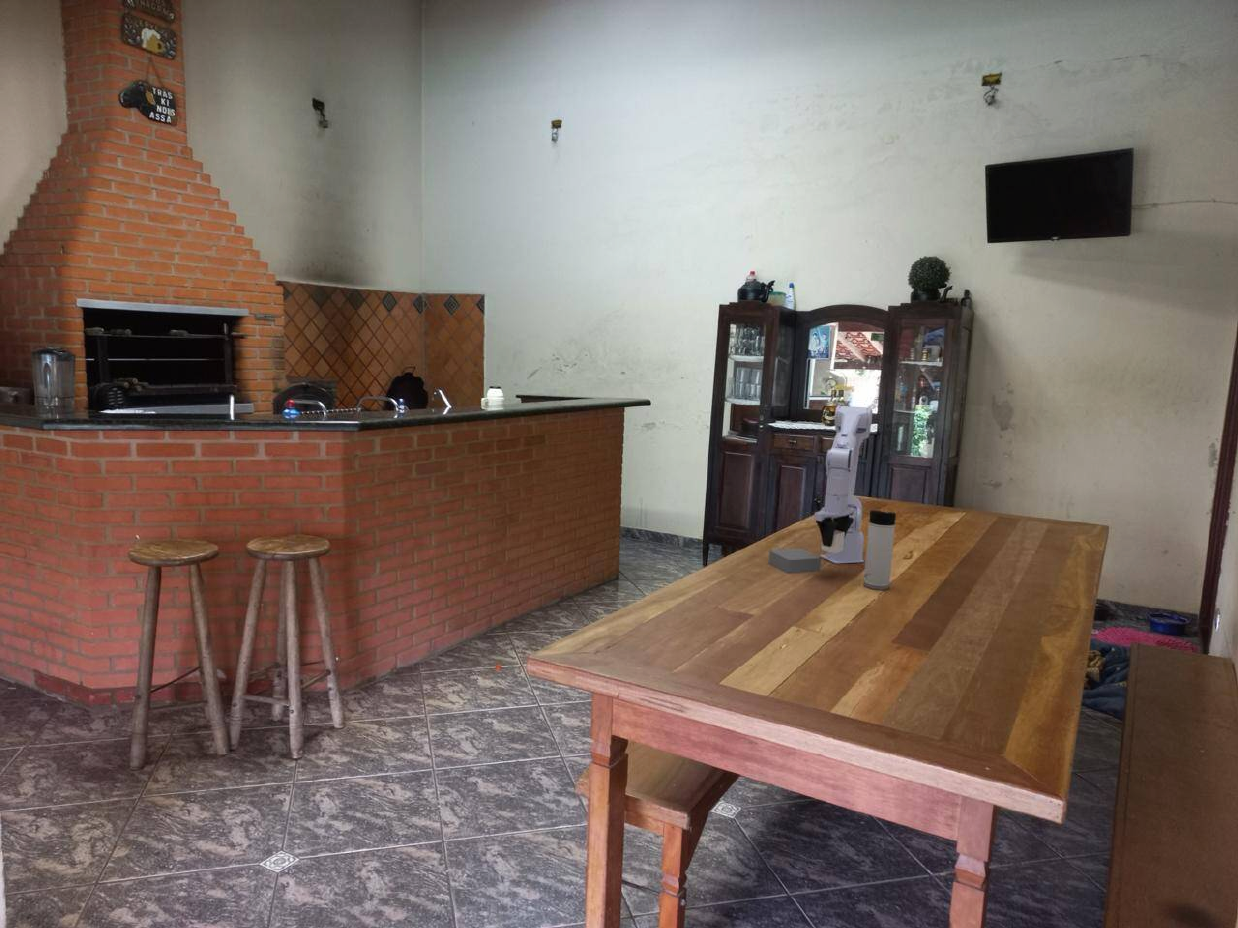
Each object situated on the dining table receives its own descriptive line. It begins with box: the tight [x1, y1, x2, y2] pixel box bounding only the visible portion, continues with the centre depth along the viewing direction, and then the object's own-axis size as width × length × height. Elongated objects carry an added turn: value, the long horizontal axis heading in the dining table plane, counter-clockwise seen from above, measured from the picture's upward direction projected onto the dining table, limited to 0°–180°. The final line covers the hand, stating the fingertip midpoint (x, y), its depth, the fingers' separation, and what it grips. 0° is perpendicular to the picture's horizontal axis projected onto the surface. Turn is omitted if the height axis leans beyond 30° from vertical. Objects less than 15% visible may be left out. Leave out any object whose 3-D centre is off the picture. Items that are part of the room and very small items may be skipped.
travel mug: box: [863, 509, 897, 591], centre depth 196 cm, size 6×7×20 cm
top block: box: [821, 530, 845, 553], centre depth 203 cm, size 4×4×5 cm
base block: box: [768, 547, 822, 574], centre depth 212 cm, size 10×10×4 cm
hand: (832, 544), depth 203 cm, fingers closed on top block, 4 cm apart
